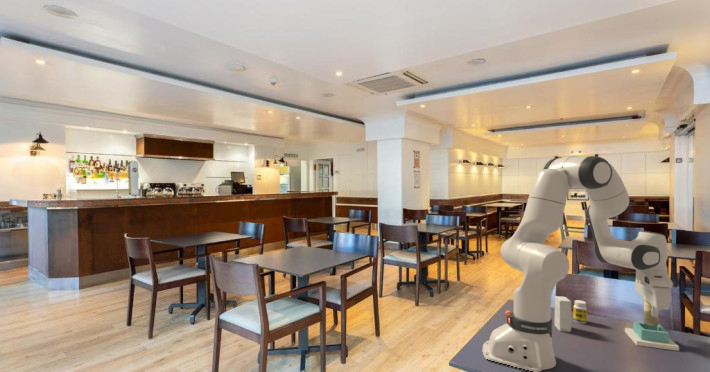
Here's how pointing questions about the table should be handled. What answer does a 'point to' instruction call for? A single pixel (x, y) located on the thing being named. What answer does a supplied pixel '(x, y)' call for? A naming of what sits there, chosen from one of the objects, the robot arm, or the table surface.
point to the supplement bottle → (580, 312)
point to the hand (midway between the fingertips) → (650, 313)
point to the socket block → (651, 336)
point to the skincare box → (563, 313)
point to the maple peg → (649, 315)
